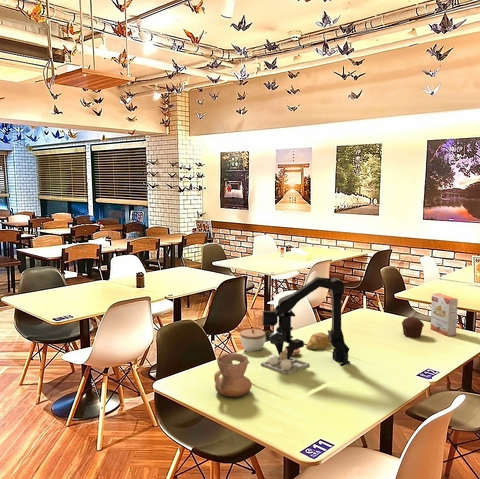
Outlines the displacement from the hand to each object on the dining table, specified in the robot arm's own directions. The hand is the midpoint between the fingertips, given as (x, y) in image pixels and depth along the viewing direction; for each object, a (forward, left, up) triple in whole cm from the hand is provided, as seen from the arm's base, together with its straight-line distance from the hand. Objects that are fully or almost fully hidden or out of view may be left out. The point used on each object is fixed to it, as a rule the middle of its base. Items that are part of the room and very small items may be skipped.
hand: (284, 358), depth 212 cm
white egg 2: (-7, +8, -1) cm, 11 cm away
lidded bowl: (+23, -2, -3) cm, 23 cm away
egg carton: (-4, +4, -3) cm, 6 cm away
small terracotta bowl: (+4, -10, -3) cm, 11 cm away
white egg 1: (0, +8, -1) cm, 8 cm away
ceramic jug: (-6, +38, -3) cm, 39 cm away
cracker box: (-30, -100, -3) cm, 104 cm away
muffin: (-21, -82, -3) cm, 85 cm away
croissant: (+5, -32, -3) cm, 32 cm away
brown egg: (0, 0, -1) cm, 1 cm away
